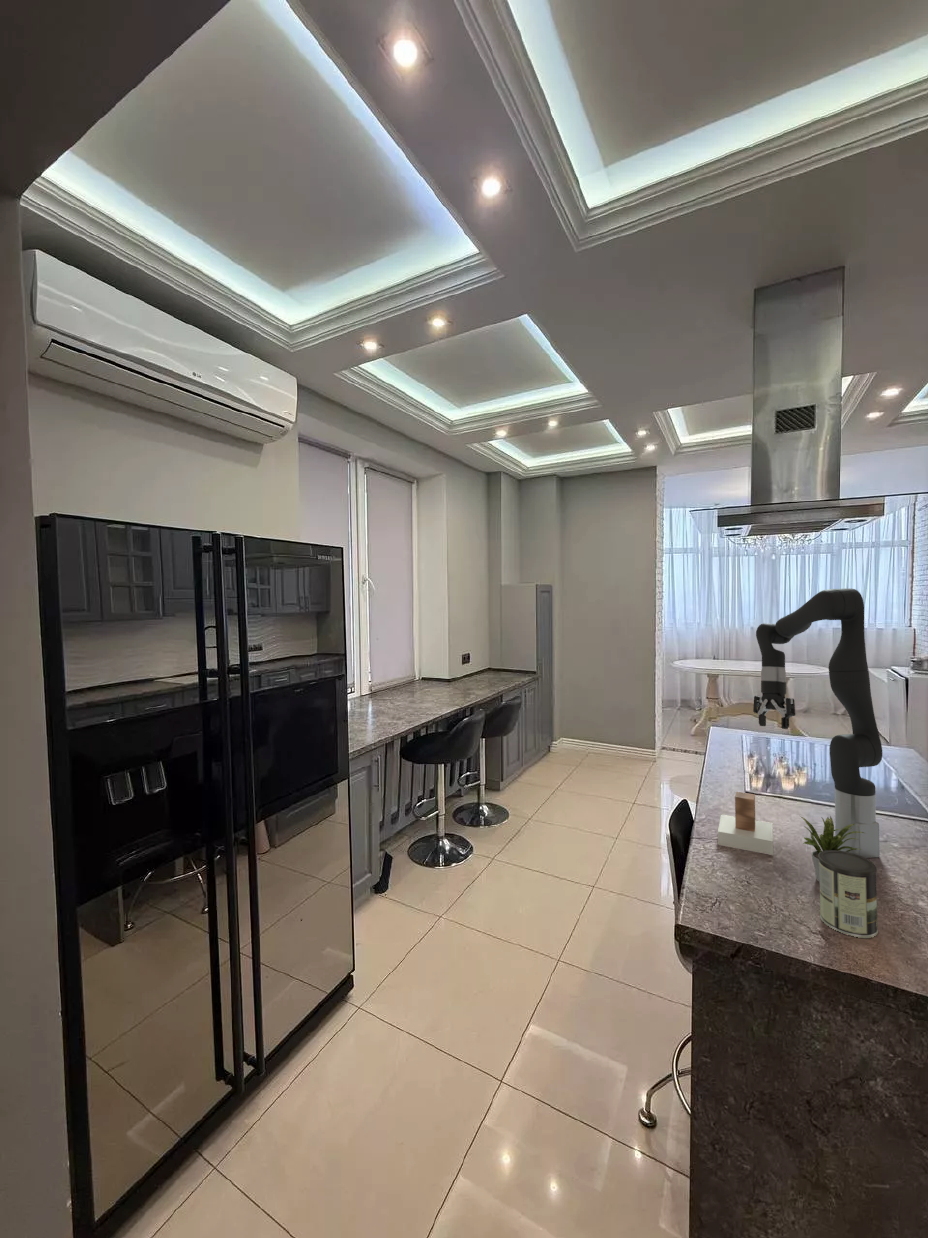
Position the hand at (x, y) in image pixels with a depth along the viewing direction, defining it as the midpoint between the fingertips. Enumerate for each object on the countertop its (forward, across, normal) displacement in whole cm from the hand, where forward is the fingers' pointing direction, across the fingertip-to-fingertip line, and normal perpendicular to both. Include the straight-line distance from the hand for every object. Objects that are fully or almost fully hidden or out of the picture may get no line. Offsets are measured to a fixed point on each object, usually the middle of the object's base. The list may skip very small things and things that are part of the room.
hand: (773, 727), depth 174 cm
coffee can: (+39, +49, -37) cm, 73 cm away
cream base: (+33, +11, -24) cm, 43 cm away
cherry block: (+29, +12, -25) cm, 40 cm away
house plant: (+36, +37, -24) cm, 57 cm away
